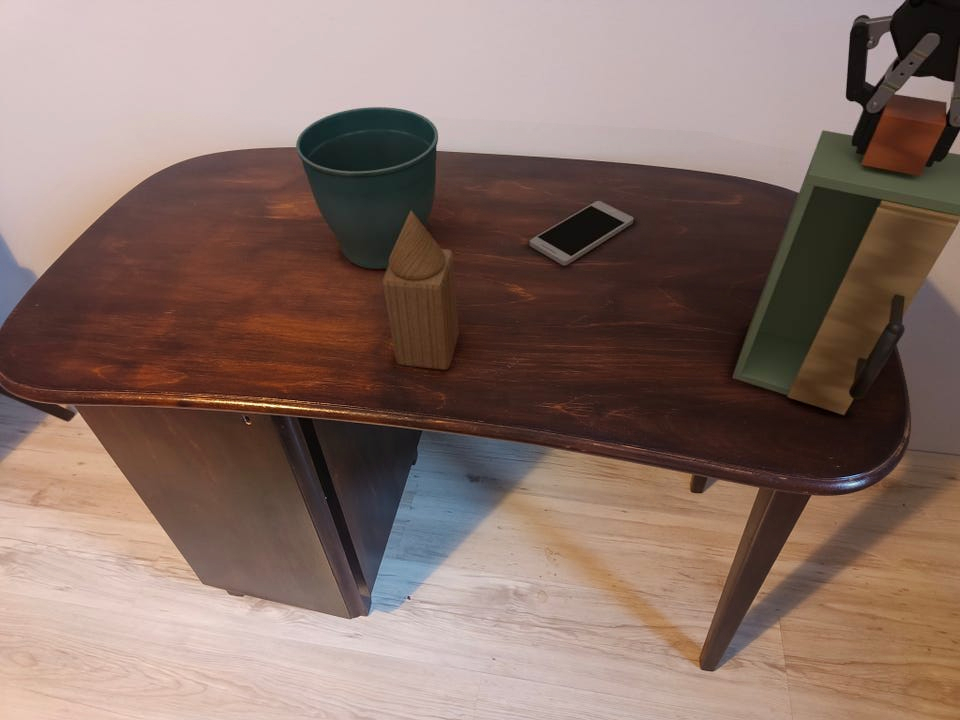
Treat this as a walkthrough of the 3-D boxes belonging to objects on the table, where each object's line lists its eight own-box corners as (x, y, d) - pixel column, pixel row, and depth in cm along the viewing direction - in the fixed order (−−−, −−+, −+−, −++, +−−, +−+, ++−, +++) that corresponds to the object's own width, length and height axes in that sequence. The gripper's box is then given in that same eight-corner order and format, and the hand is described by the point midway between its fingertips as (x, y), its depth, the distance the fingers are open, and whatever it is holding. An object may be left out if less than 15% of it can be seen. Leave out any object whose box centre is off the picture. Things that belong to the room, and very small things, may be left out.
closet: (853, 360, 75) (967, 155, 56) (843, 417, 69) (968, 209, 50) (748, 330, 79) (822, 129, 60) (730, 381, 73) (807, 177, 54)
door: (844, 411, 68) (956, 223, 51) (838, 451, 64) (956, 263, 48) (787, 393, 70) (877, 206, 53) (778, 430, 66) (871, 243, 50)
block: (921, 152, 56) (947, 101, 52) (919, 176, 53) (946, 124, 50) (865, 142, 57) (887, 92, 54) (860, 165, 55) (883, 114, 51)
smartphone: (634, 222, 96) (635, 217, 95) (564, 266, 89) (565, 261, 88) (597, 204, 100) (598, 199, 99) (528, 245, 93) (528, 240, 92)
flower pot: (422, 201, 102) (411, 96, 90) (465, 263, 90) (459, 151, 78) (311, 229, 97) (283, 122, 85) (341, 298, 85) (313, 185, 73)
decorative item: (395, 366, 76) (369, 225, 62) (408, 329, 81) (388, 189, 66) (449, 372, 75) (436, 230, 61) (460, 334, 80) (450, 193, 66)
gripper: (882, -75, 43) (798, 159, 55) (1145, -56, 38) (989, 196, 50) (889, -98, 47) (811, 123, 60) (1125, -84, 43) (987, 154, 55)
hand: (893, 155), depth 55 cm, fingers closed on block, 4 cm apart
